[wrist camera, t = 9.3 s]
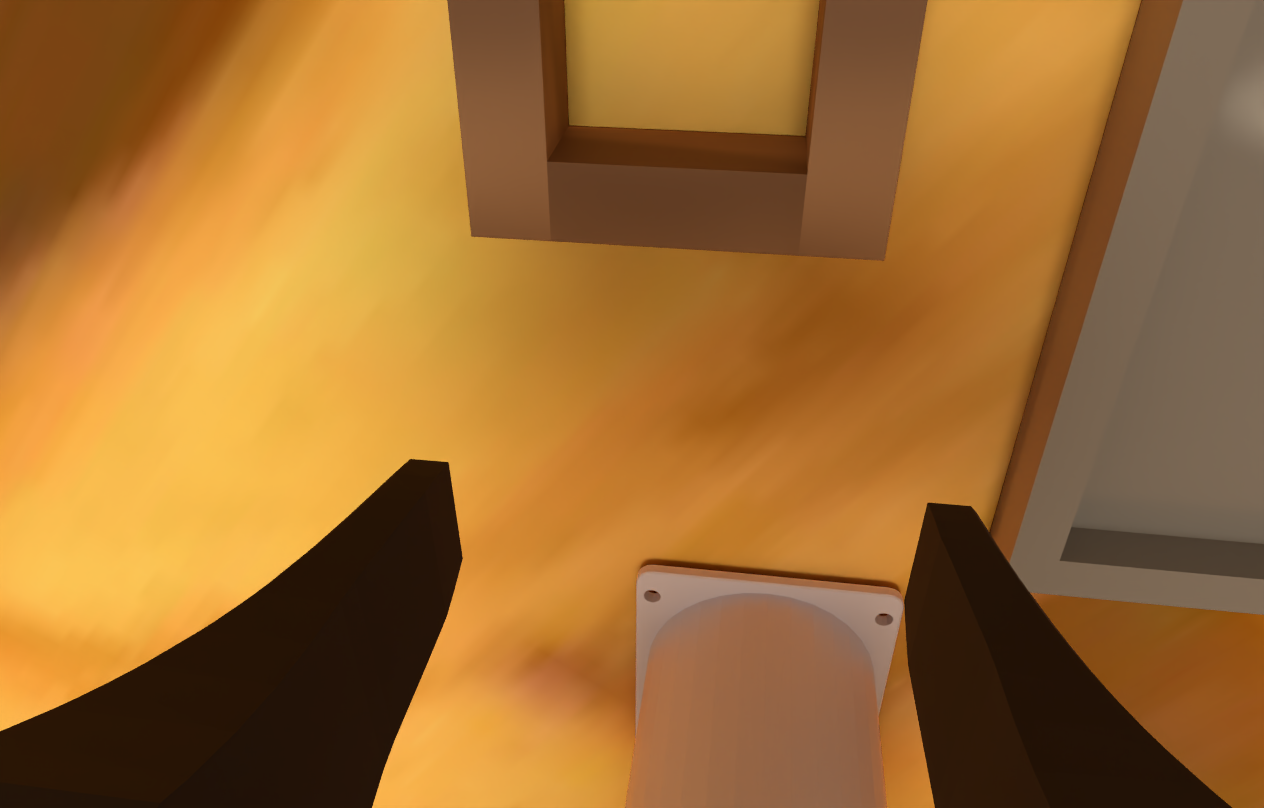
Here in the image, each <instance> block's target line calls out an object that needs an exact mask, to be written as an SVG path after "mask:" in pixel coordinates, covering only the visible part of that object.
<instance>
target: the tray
mask: <svg viewBox="0 0 1264 808" xmlns="http://www.w3.org/2000/svg"><path fill="white" fill-rule="evenodd" d="M990 535H991V536H992V538H993V539H994V541H995V542H996V544H997V546H998V547H999V549H1000V550H1001V552H1002V553H1003V555H1004V556H1005V558H1006V559H1007V561H1008V562H1009V564H1010V565H1011V566H1012V568H1013V569H1014V571H1015V572H1016V574H1017V575H1018V577H1019V578H1020V580H1021V581H1022V582H1023V584H1024V585H1025V587H1026V588H1027V590H1028V591H1029V592H1031V593H1042V594H1052V595H1063V596H1073V597H1084V598H1094V599H1105V600H1115V601H1126V602H1136V603H1146V604H1157V605H1167V606H1178V607H1188V608H1199V609H1209V610H1220V611H1230V612H1241V613H1251V614H1262V615H1264V0H1142V2H1141V6H1140V9H1139V13H1138V16H1137V20H1136V23H1135V27H1134V30H1133V34H1132V37H1131V41H1130V44H1129V48H1128V51H1127V55H1126V58H1125V62H1124V65H1123V69H1122V72H1121V76H1120V79H1119V83H1118V86H1117V90H1116V93H1115V97H1114V100H1113V104H1112V107H1111V111H1110V114H1109V118H1108V121H1107V125H1106V128H1105V132H1104V135H1103V139H1102V142H1101V146H1100V149H1099V153H1098V156H1097V160H1096V163H1095V167H1094V170H1093V174H1092V177H1091V181H1090V184H1089V188H1088V191H1087V195H1086V198H1085V202H1084V205H1083V209H1082V212H1081V216H1080V219H1079V223H1078V226H1077V230H1076V233H1075V237H1074V240H1073V244H1072V247H1071V251H1070V254H1069V258H1068V261H1067V265H1066V268H1065V272H1064V275H1063V279H1062V282H1061V286H1060V289H1059V293H1058V296H1057V300H1056V303H1055V307H1054V310H1053V314H1052V317H1051V321H1050V324H1049V328H1048V331H1047V335H1046V338H1045V342H1044V345H1043V348H1042V352H1041V355H1040V359H1039V362H1038V366H1037V369H1036V373H1035V376H1034V380H1033V383H1032V387H1031V390H1030V394H1029V397H1028V401H1027V404H1026V408H1025V411H1024V415H1023V418H1022V422H1021V425H1020V429H1019V432H1018V436H1017V439H1016V443H1015V446H1014V450H1013V453H1012V457H1011V460H1010V464H1009V467H1008V471H1007V474H1006V478H1005V481H1004V485H1003V488H1002V492H1001V495H1000V499H999V502H998V506H997V509H996V513H995V516H994V520H993V523H992V527H991V530H990Z"/></svg>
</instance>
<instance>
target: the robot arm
mask: <svg viewBox="0 0 1264 808" xmlns="http://www.w3.org/2000/svg"><path fill="white" fill-rule="evenodd" d="M462 559H463V557H462V551H461V544H460V537H459V530H458V524H457V517H456V510H455V503H454V497H453V490H452V483H451V476H450V470H449V463H448V462H439V461H427V460H415V459H410V460H409V461H408V462H407V463H405V464H404V465H403V466H402V467H401V468H400V469H399V470H398V471H396V472H395V473H394V474H393V475H392V476H391V477H390V478H389V479H388V480H387V481H386V482H385V483H383V484H382V485H381V486H380V487H379V488H378V489H377V490H376V491H375V492H374V493H373V494H372V495H371V496H370V497H369V498H367V499H366V500H365V501H364V502H363V503H362V504H361V505H360V506H359V507H358V508H357V509H356V510H354V511H353V512H352V513H351V514H350V515H349V516H348V517H347V518H346V519H345V520H343V521H342V522H341V523H340V524H339V525H338V526H337V527H336V528H334V529H333V530H332V531H331V532H330V533H329V534H328V535H327V536H325V537H324V538H323V539H322V540H321V541H320V542H319V543H317V544H316V545H315V546H314V547H313V548H312V549H310V550H309V551H308V552H307V553H306V554H305V555H303V556H302V557H301V558H300V559H298V560H297V561H296V562H295V563H293V564H292V565H291V566H290V567H288V568H287V569H286V570H285V571H283V572H282V573H281V574H280V575H278V576H277V577H276V578H275V579H273V580H272V581H271V582H270V583H268V584H267V585H266V586H265V587H263V588H262V589H261V590H259V591H258V592H257V593H255V594H254V595H252V596H251V597H250V598H248V599H247V600H245V601H244V602H243V603H241V604H240V605H238V606H237V607H235V608H234V609H232V610H231V611H229V612H228V613H226V614H225V615H223V616H222V617H221V618H219V619H218V620H216V621H215V622H213V623H212V624H210V625H208V626H207V627H205V628H204V629H202V630H201V631H199V632H197V633H196V634H194V635H192V636H190V637H189V638H187V639H185V640H184V641H182V642H180V643H179V644H177V645H175V646H174V647H172V648H170V649H168V650H167V651H165V652H163V653H162V654H160V655H158V656H157V657H155V658H153V659H151V660H150V661H148V662H146V663H145V664H143V665H141V666H139V667H137V668H135V669H133V670H132V671H130V672H128V673H126V674H124V675H122V676H120V677H118V678H116V679H114V680H112V681H111V682H109V683H107V684H105V685H103V686H100V687H98V688H96V689H94V690H92V691H90V692H88V693H86V694H84V695H82V696H80V697H78V698H76V699H74V700H72V701H69V702H67V703H65V704H63V705H61V706H59V707H56V708H54V709H52V710H50V711H47V712H45V713H43V714H40V715H38V716H35V717H33V718H31V719H28V720H26V721H24V722H21V723H19V724H17V725H14V726H12V727H10V728H7V729H5V730H3V731H0V808H372V805H373V802H374V799H375V796H376V792H377V789H378V786H379V783H380V780H381V776H382V773H383V770H384V767H385V764H386V762H387V759H388V756H389V754H390V751H391V748H392V746H393V743H394V740H395V738H396V736H397V733H398V731H399V729H400V726H401V724H402V722H403V719H404V717H405V714H406V712H407V710H408V707H409V705H410V703H411V700H412V698H413V696H414V693H415V691H416V689H417V686H418V684H419V682H420V679H421V677H422V675H423V672H424V670H425V668H426V665H427V663H428V660H429V658H430V656H431V653H432V651H433V648H434V646H435V644H436V641H437V639H438V636H439V634H440V632H441V629H442V627H443V624H444V622H445V619H446V617H447V614H448V610H449V607H450V603H451V600H452V596H453V593H454V589H455V585H456V582H457V578H458V574H459V570H460V566H461V563H462ZM648 590H654V591H657V592H658V593H651V592H649V591H648ZM904 604H905V623H906V640H907V655H908V666H909V672H910V677H911V683H912V688H913V694H914V699H915V704H916V710H917V715H918V721H919V726H920V731H921V736H922V741H923V747H924V752H925V757H926V762H927V768H928V773H929V778H930V783H931V789H932V794H933V799H934V804H935V808H1232V807H1231V806H1230V805H1228V804H1227V803H1226V802H1225V801H1224V800H1222V799H1221V798H1220V797H1219V796H1218V795H1216V794H1215V793H1214V792H1213V791H1212V790H1211V789H1209V788H1208V787H1207V786H1206V785H1205V784H1204V783H1203V782H1202V781H1200V780H1199V779H1198V778H1197V777H1196V776H1195V775H1194V774H1193V773H1192V772H1190V771H1189V770H1188V769H1187V768H1186V767H1185V766H1184V765H1183V764H1182V763H1180V762H1179V761H1178V760H1177V759H1176V758H1175V757H1174V756H1173V755H1171V754H1170V753H1169V752H1168V751H1167V750H1166V749H1165V748H1164V747H1163V746H1162V745H1161V744H1160V743H1159V742H1158V741H1157V740H1156V739H1154V738H1153V737H1152V736H1151V735H1150V734H1149V733H1148V732H1147V731H1146V730H1145V729H1144V728H1143V727H1142V726H1141V725H1140V724H1139V723H1138V722H1137V721H1136V720H1135V719H1134V718H1133V716H1132V715H1131V714H1130V713H1129V712H1128V711H1127V710H1126V709H1125V708H1124V707H1123V706H1122V705H1121V704H1120V703H1119V702H1118V701H1117V700H1116V699H1115V698H1114V696H1113V695H1112V694H1111V693H1110V692H1109V691H1108V690H1107V689H1106V688H1105V687H1104V685H1103V684H1102V683H1101V682H1100V681H1099V680H1098V679H1097V677H1096V676H1095V675H1094V674H1093V673H1092V672H1091V670H1090V669H1089V668H1088V667H1087V666H1086V664H1085V663H1084V662H1083V661H1082V660H1081V658H1080V657H1079V656H1078V655H1077V654H1076V652H1075V651H1074V650H1073V649H1072V648H1071V646H1070V645H1069V644H1068V643H1067V641H1066V640H1065V639H1064V638H1063V636H1062V635H1061V634H1060V632H1059V631H1058V630H1057V629H1056V627H1055V626H1054V625H1053V623H1052V622H1051V621H1050V619H1049V618H1048V617H1047V615H1046V614H1045V613H1044V611H1043V610H1042V609H1041V607H1040V606H1039V605H1038V603H1037V602H1036V601H1035V599H1034V598H1033V596H1032V595H1031V594H1030V592H1029V591H1028V590H1027V588H1026V587H1025V585H1024V584H1023V582H1022V581H1021V580H1020V578H1019V577H1018V575H1017V574H1016V572H1015V571H1014V569H1013V568H1012V566H1011V565H1010V564H1009V562H1008V561H1007V559H1006V558H1005V556H1004V555H1003V553H1002V552H1001V550H1000V549H999V547H998V546H997V544H996V542H995V541H994V539H993V538H992V536H991V535H990V533H989V532H988V530H987V528H986V527H985V525H984V524H983V522H982V521H981V519H980V517H979V516H978V514H977V513H976V512H975V510H974V509H973V508H972V507H971V506H961V505H949V504H937V503H928V504H927V508H926V512H925V516H924V520H923V525H922V529H921V533H920V537H919V541H918V545H917V550H916V554H915V558H914V562H913V566H912V570H911V575H910V579H909V583H908V587H907V591H906V596H905V600H904ZM903 609H904V606H903V597H902V595H901V593H900V592H899V591H897V590H896V589H893V588H889V587H880V586H870V585H859V584H849V583H839V582H828V581H818V580H807V579H797V578H787V577H776V576H766V575H756V574H745V573H735V572H725V571H714V570H704V569H694V568H683V567H673V566H663V565H646V566H644V567H642V568H641V569H640V570H639V572H638V576H637V581H636V740H635V746H634V753H633V759H632V765H631V772H630V778H629V785H628V791H627V797H626V804H625V808H887V802H886V792H885V781H884V771H883V760H882V750H881V740H880V729H879V719H878V717H879V713H880V708H881V704H882V700H883V695H884V691H885V687H886V682H887V678H888V674H889V669H890V665H891V661H892V656H893V652H894V648H895V643H896V639H897V635H898V630H899V626H900V622H901V618H902V613H903ZM883 613H886V614H889V615H887V616H880V615H879V614H883Z"/></svg>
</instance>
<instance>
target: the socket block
mask: <svg viewBox="0 0 1264 808" xmlns="http://www.w3.org/2000/svg"><path fill="white" fill-rule="evenodd" d="M447 1H448V10H449V20H450V30H451V40H452V50H453V59H454V69H455V79H456V89H457V99H458V109H459V118H460V128H461V138H462V148H463V158H464V167H465V177H466V187H467V197H468V207H469V216H470V226H471V236H472V237H489V238H506V239H523V240H540V241H558V242H575V243H592V244H609V245H626V246H643V247H660V248H677V249H694V250H711V251H728V252H745V253H762V254H779V255H796V256H813V257H830V258H847V259H864V260H881V261H884V259H885V253H886V247H887V241H888V235H889V229H890V223H891V217H892V211H893V205H894V199H895V193H896V187H897V181H898V175H899V169H900V163H901V157H902V151H903V145H904V139H905V133H906V127H907V121H908V115H909V109H910V103H911V97H912V91H913V85H914V79H915V73H916V67H917V61H918V55H919V48H920V42H921V36H922V30H923V24H924V18H925V12H926V6H927V0H820V4H819V13H818V23H817V32H816V42H815V51H814V60H813V70H812V79H811V89H810V98H809V108H808V117H807V126H806V136H784V135H761V134H739V133H717V132H694V131H672V130H649V129H627V128H605V127H582V126H569V122H568V95H567V67H566V40H565V13H564V0H447Z"/></svg>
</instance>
